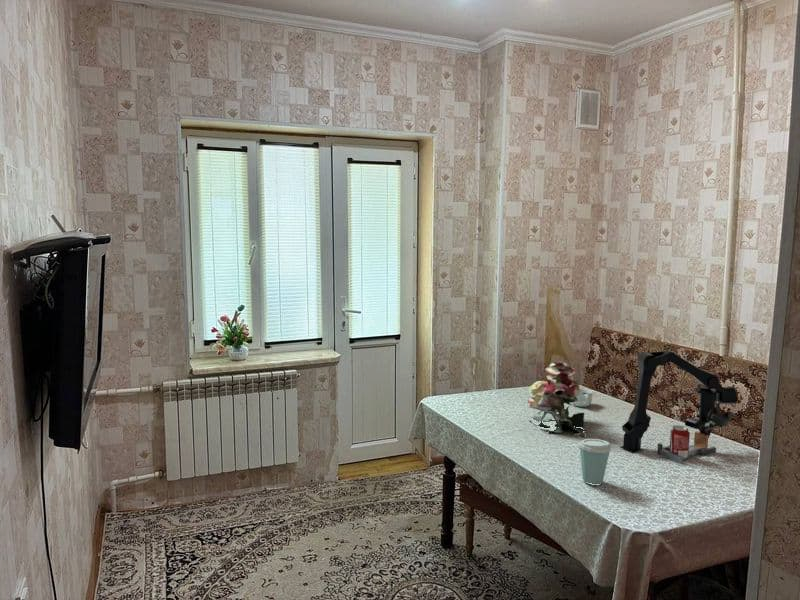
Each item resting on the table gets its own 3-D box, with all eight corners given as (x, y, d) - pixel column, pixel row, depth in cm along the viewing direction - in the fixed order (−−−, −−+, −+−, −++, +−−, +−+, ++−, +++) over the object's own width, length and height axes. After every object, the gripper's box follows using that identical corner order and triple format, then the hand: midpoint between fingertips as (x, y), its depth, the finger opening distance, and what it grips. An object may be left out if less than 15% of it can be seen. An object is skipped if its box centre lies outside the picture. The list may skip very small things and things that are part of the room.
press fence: (680, 463, 220) (681, 452, 220) (657, 454, 230) (657, 443, 229) (702, 458, 226) (703, 447, 225) (679, 449, 235) (679, 438, 235)
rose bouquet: (577, 416, 277) (580, 355, 274) (592, 438, 248) (595, 369, 245) (523, 415, 279) (525, 354, 276) (531, 436, 251) (533, 368, 247)
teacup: (568, 402, 301) (569, 387, 300) (590, 402, 300) (590, 387, 299) (572, 410, 288) (573, 394, 287) (595, 411, 286) (596, 395, 285)
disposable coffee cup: (571, 478, 207) (572, 438, 205) (594, 473, 211) (596, 434, 209) (592, 490, 197) (593, 448, 195) (616, 485, 201) (618, 443, 200)
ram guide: (702, 455, 229) (702, 450, 228) (689, 450, 234) (689, 445, 234) (715, 452, 232) (716, 447, 232) (702, 447, 237) (702, 442, 237)
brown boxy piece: (690, 457, 226) (691, 439, 225) (679, 452, 231) (680, 435, 230) (707, 453, 230) (708, 435, 230) (696, 448, 235) (697, 431, 234)
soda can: (690, 461, 223) (692, 431, 222) (671, 459, 224) (673, 429, 223) (685, 454, 230) (687, 425, 228) (667, 453, 231) (668, 424, 229)
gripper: (710, 412, 220) (708, 452, 222) (742, 405, 228) (739, 443, 230) (684, 404, 230) (683, 442, 232) (715, 398, 238) (713, 434, 240)
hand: (705, 441), depth 233 cm, fingers closed
